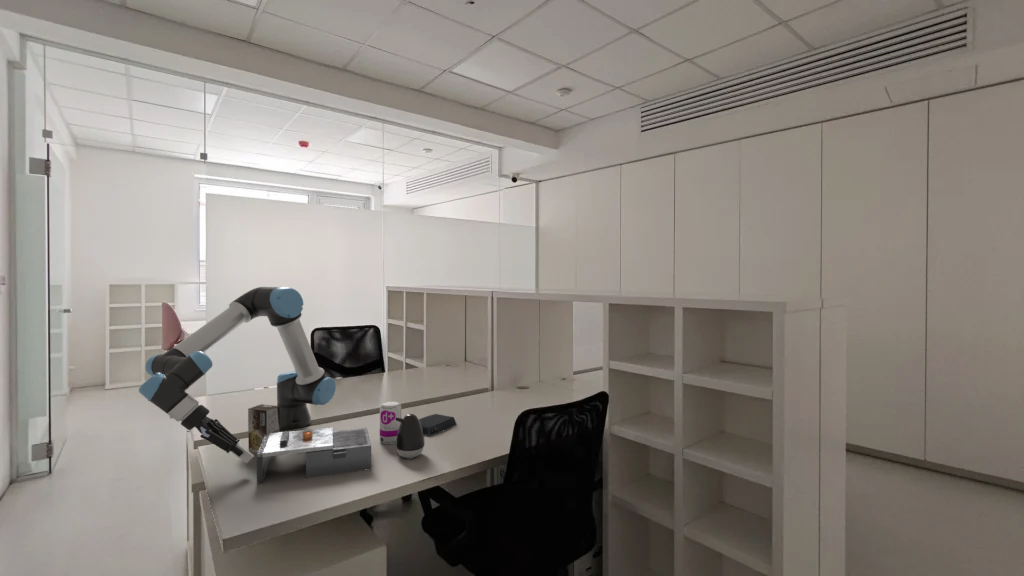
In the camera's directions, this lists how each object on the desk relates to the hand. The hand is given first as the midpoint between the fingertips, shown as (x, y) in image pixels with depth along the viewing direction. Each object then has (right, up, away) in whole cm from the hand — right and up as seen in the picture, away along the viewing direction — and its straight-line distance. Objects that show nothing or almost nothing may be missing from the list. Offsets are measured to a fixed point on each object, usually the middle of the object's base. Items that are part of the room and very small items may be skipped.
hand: (250, 459), depth 151 cm
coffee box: (-7, -5, +21) cm, 23 cm away
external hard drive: (+51, -5, +49) cm, 71 cm away
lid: (+13, -4, +5) cm, 15 cm away
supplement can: (+37, -5, +32) cm, 49 cm away
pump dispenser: (+48, -5, +17) cm, 51 cm away
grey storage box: (+25, -5, +10) cm, 27 cm away
